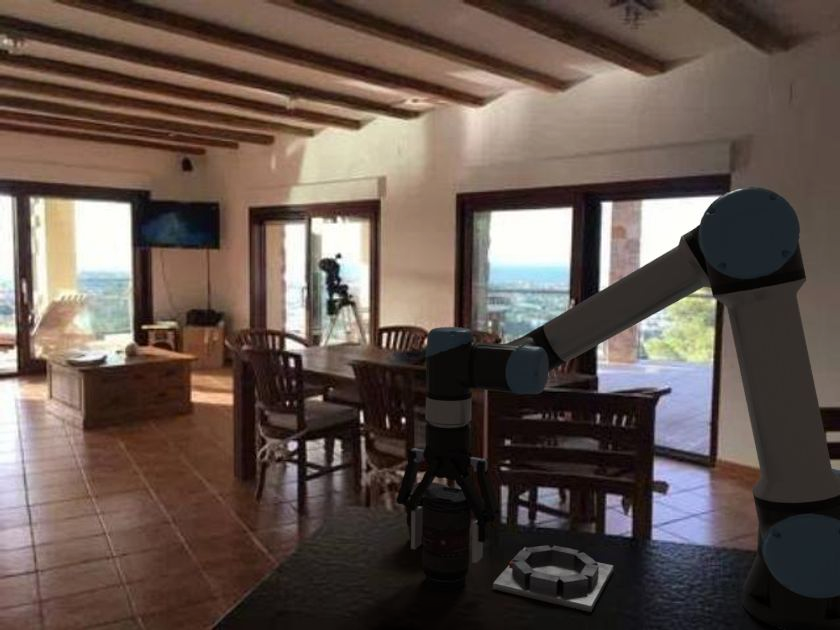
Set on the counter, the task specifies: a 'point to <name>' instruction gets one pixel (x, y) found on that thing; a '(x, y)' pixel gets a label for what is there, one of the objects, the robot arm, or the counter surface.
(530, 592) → the mount plate
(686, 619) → the counter surface
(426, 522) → the camera lens
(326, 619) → the counter surface
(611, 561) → the counter surface
